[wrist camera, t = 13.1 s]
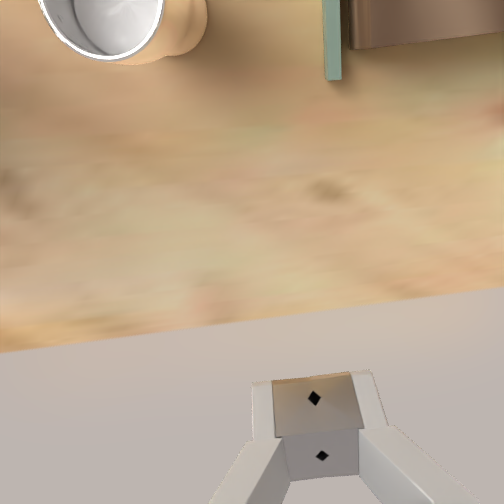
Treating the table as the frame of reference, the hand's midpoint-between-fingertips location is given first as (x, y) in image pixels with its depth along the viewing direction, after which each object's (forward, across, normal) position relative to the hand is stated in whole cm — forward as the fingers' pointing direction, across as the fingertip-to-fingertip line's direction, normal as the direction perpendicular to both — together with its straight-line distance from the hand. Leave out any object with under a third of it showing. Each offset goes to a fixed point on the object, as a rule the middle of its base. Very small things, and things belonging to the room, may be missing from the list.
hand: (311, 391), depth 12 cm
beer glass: (+33, +6, -6) cm, 34 cm away
